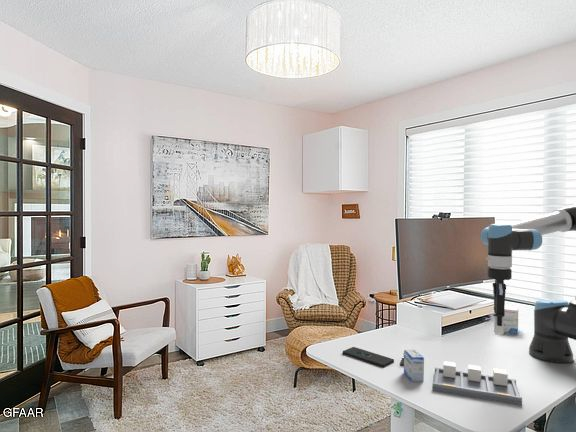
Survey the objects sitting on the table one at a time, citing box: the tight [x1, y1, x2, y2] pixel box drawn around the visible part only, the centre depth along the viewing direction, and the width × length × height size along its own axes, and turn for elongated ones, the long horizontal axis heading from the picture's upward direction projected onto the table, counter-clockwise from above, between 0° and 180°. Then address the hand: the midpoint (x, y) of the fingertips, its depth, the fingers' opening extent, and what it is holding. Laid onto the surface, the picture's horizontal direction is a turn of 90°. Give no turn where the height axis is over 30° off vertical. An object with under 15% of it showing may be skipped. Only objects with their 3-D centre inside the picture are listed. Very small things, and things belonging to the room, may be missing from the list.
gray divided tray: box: [432, 366, 523, 406], centre depth 135 cm, size 26×15×2 cm, turn 67°
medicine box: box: [403, 349, 425, 382], centre depth 143 cm, size 8×4×9 cm, turn 5°
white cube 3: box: [442, 360, 457, 378], centre depth 141 cm, size 4×4×4 cm
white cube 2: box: [467, 364, 482, 382], centre depth 138 cm, size 4×4×4 cm
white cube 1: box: [492, 367, 509, 386], centre depth 135 cm, size 4×4×4 cm
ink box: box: [504, 305, 519, 335], centre depth 197 cm, size 9×8×12 cm
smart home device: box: [342, 346, 395, 368], centre depth 161 cm, size 8×2×20 cm
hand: (498, 333), depth 141 cm, fingers open, 2 cm apart
